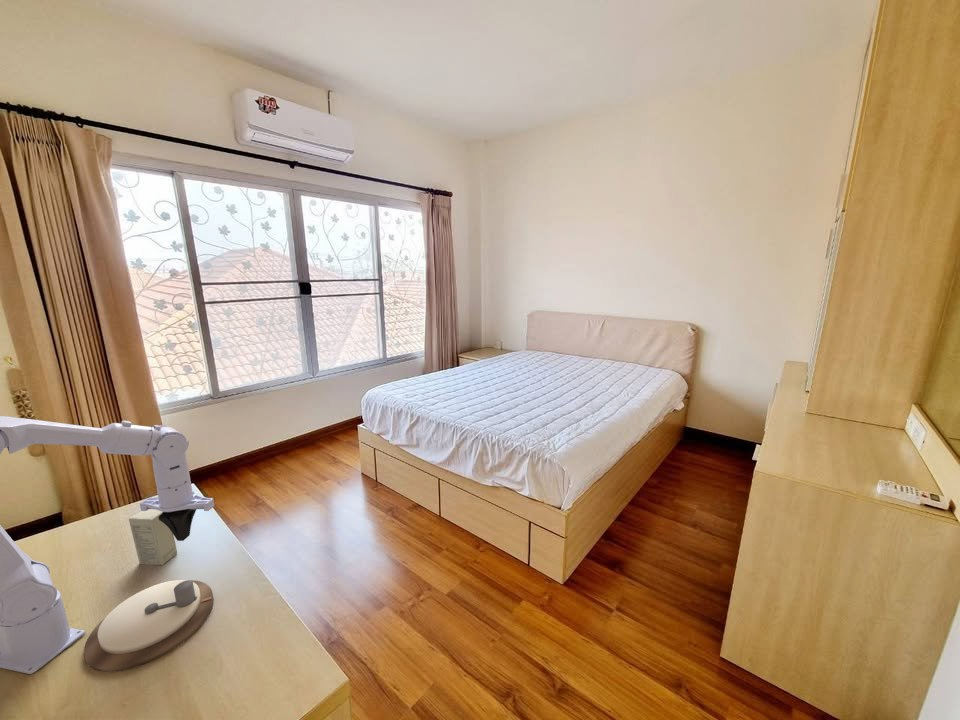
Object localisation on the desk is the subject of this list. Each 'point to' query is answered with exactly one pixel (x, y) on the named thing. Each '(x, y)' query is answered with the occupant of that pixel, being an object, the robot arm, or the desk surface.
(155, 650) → the dial base
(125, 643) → the dial
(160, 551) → the skincare box
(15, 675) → the desk surface
